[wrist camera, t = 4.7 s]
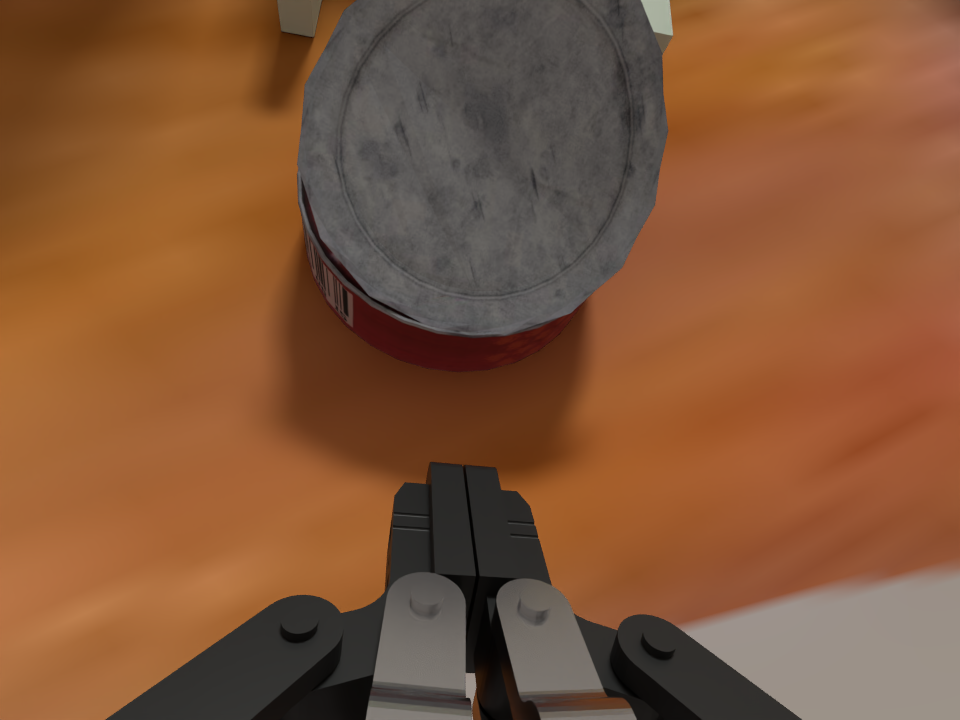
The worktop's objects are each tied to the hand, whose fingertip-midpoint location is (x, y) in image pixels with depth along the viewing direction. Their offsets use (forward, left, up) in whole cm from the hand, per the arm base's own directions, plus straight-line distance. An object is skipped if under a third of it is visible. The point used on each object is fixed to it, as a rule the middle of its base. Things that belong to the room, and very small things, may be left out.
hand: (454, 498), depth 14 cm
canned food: (0, -9, -4) cm, 10 cm away
